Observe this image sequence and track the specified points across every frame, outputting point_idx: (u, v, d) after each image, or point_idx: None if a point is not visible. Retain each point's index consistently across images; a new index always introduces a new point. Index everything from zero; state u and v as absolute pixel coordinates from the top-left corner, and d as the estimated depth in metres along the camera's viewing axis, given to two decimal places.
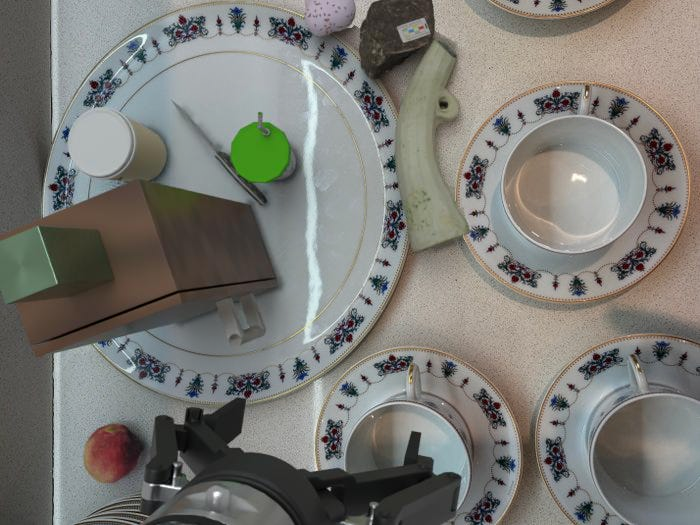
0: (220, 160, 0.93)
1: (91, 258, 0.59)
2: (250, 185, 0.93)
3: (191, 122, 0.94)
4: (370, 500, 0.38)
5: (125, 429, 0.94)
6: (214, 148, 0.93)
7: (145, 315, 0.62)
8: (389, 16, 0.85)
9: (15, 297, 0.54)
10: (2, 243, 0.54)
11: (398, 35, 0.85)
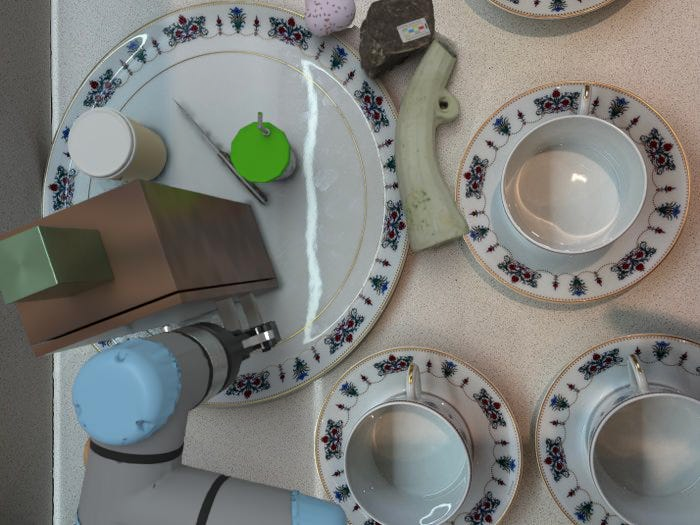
0: (222, 158, 0.93)
1: (91, 258, 0.59)
2: (252, 184, 0.93)
3: (193, 121, 0.94)
4: None
5: None
6: (216, 147, 0.93)
7: (145, 315, 0.62)
8: (389, 16, 0.85)
9: (15, 297, 0.54)
10: (2, 243, 0.54)
11: (398, 35, 0.85)
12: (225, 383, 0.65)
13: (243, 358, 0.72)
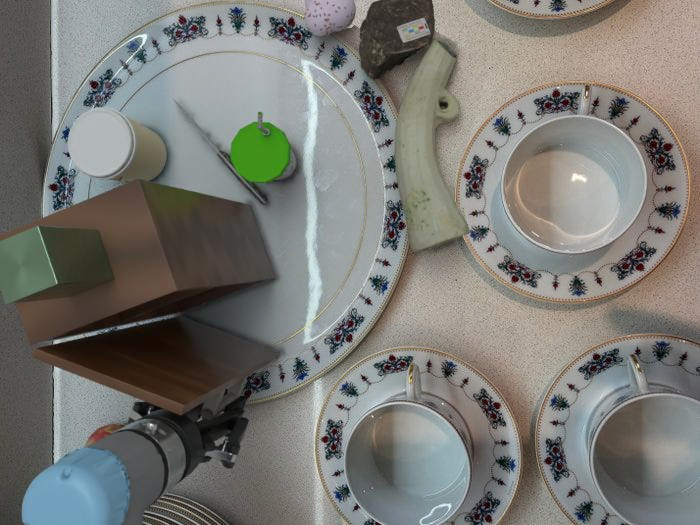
0: (222, 158, 0.93)
1: (91, 258, 0.59)
2: (252, 184, 0.93)
3: (193, 121, 0.94)
4: (216, 432, 0.76)
5: None
6: (216, 147, 0.93)
7: (144, 400, 0.62)
8: (389, 16, 0.85)
9: (15, 297, 0.54)
10: (2, 243, 0.54)
11: (398, 35, 0.85)
12: None
13: None
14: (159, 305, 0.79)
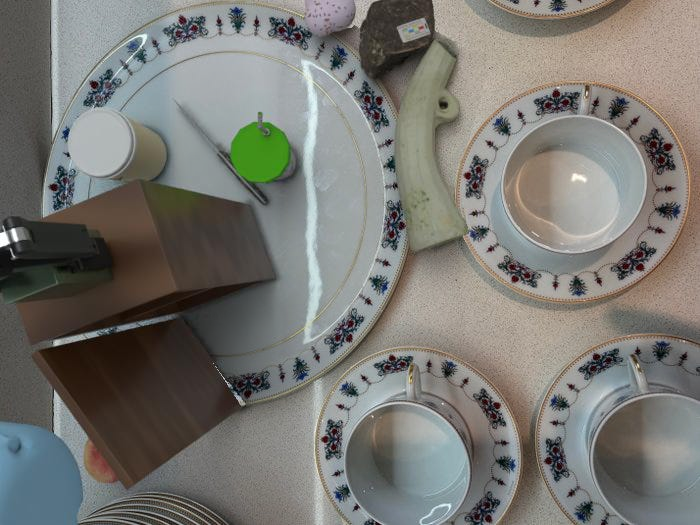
0: (222, 158, 0.93)
1: None
2: (252, 184, 0.93)
3: (193, 121, 0.94)
4: None
5: None
6: (216, 147, 0.93)
7: (104, 457, 0.63)
8: (389, 16, 0.85)
9: (15, 297, 0.54)
10: None
11: (398, 35, 0.85)
12: None
13: None
14: (159, 305, 0.79)
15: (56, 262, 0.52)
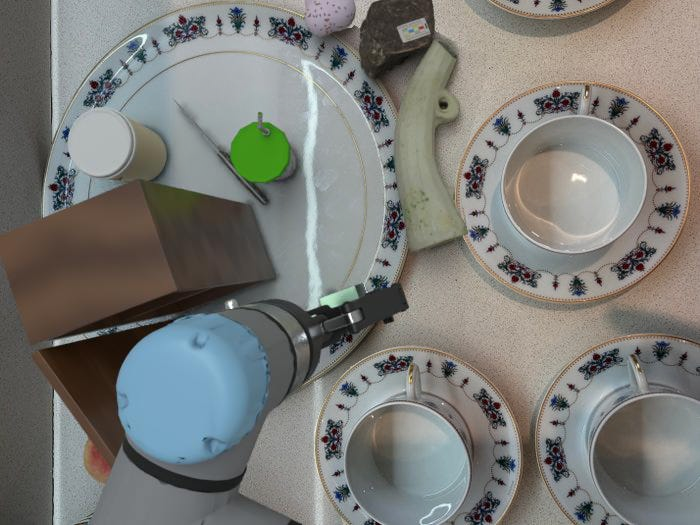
0: (222, 158, 0.93)
1: None
2: (252, 184, 0.93)
3: (193, 121, 0.94)
4: None
5: None
6: (216, 147, 0.93)
7: (104, 457, 0.63)
8: (389, 16, 0.85)
9: None
10: (330, 296, 0.84)
11: (398, 35, 0.85)
12: (304, 377, 0.49)
13: (324, 344, 0.56)
14: (159, 305, 0.79)
15: None
